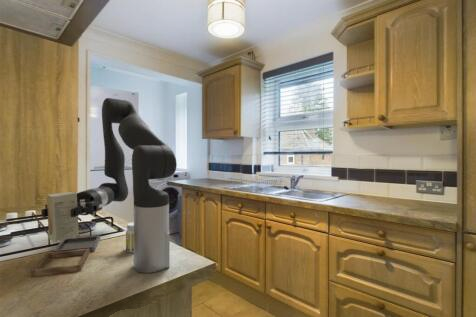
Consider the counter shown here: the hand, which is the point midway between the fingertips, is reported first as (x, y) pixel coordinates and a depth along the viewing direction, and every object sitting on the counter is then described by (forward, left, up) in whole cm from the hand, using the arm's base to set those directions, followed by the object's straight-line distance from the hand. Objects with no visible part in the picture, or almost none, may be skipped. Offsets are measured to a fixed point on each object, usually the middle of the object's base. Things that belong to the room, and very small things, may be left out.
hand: (57, 213), depth 70 cm
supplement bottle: (-19, -7, -15) cm, 25 cm away
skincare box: (-1, -2, -8) cm, 8 cm away
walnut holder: (-1, -2, -15) cm, 15 cm away
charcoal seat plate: (-2, -15, -15) cm, 21 cm away
